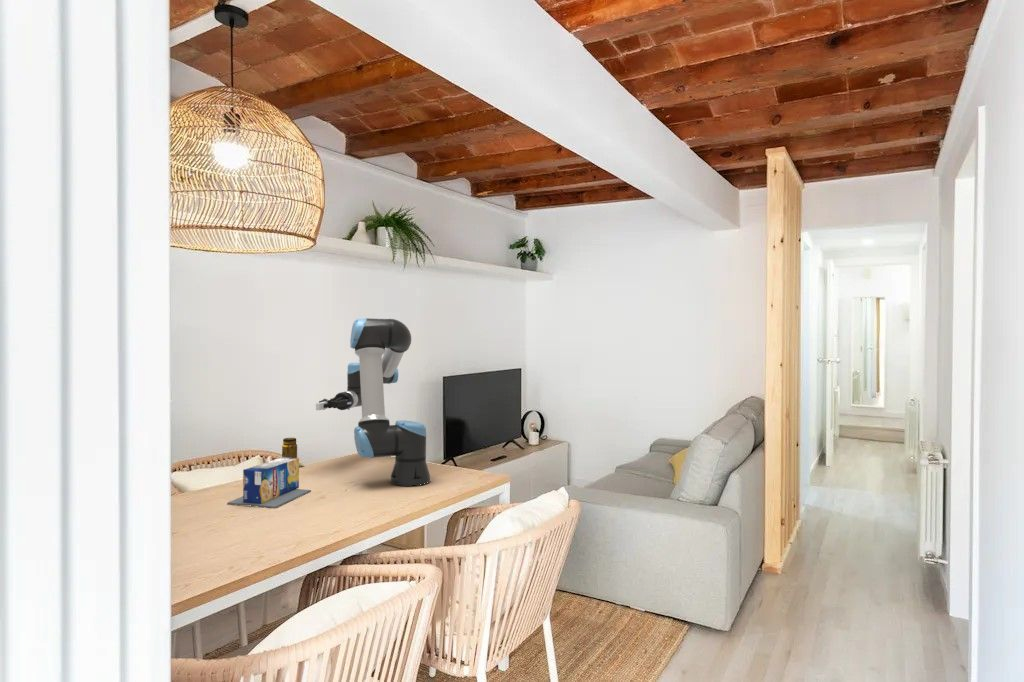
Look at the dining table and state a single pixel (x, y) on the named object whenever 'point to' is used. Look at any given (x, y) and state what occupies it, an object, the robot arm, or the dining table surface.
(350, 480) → the dining table surface
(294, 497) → the mat
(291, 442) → the condiment
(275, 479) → the blue cracker box
